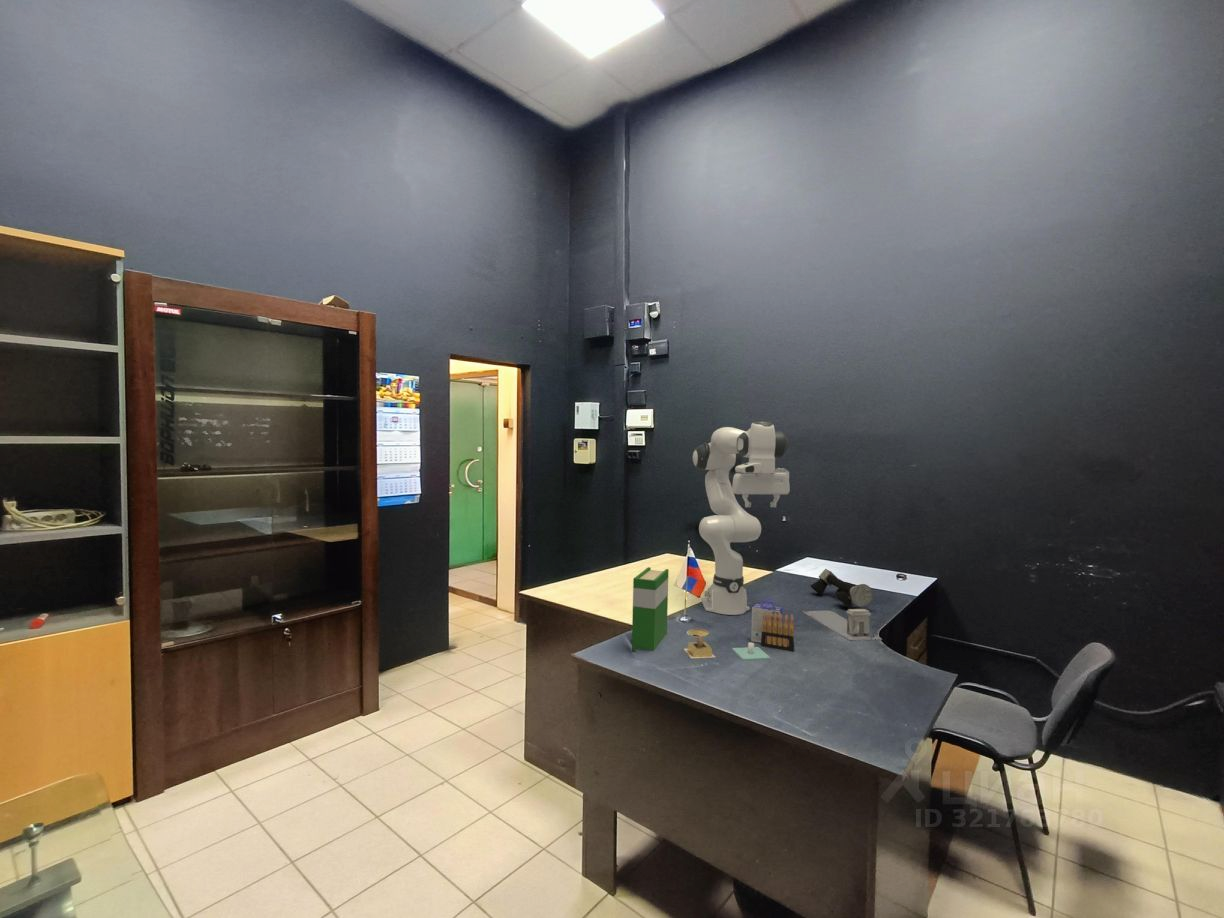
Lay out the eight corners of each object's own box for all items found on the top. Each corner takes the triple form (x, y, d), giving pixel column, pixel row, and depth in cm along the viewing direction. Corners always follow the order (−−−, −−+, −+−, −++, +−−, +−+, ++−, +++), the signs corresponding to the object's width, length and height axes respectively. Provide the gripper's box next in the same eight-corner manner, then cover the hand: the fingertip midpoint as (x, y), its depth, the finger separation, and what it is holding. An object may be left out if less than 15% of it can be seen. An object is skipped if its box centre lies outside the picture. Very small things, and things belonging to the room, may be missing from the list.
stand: (683, 653, 180) (684, 633, 180) (707, 652, 181) (707, 632, 181) (691, 663, 172) (691, 642, 172) (715, 661, 173) (716, 641, 173)
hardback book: (646, 634, 197) (648, 567, 196) (666, 637, 194) (668, 569, 193) (631, 652, 180) (633, 578, 179) (653, 655, 178) (655, 580, 177)
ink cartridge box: (782, 641, 192) (783, 600, 192) (780, 647, 187) (781, 604, 187) (753, 636, 197) (755, 596, 196) (750, 641, 192) (751, 600, 191)
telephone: (866, 626, 229) (827, 602, 258) (886, 602, 229) (845, 582, 259) (841, 602, 227) (805, 582, 256) (861, 579, 227) (823, 561, 257)
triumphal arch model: (850, 642, 194) (851, 615, 194) (802, 613, 227) (802, 589, 227) (882, 641, 197) (883, 614, 196) (830, 612, 229) (830, 589, 229)
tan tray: (687, 649, 179) (687, 642, 179) (705, 648, 180) (705, 641, 180) (693, 656, 173) (693, 649, 173) (711, 656, 174) (711, 648, 174)
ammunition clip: (760, 646, 188) (761, 611, 187) (761, 644, 189) (762, 609, 189) (793, 651, 183) (794, 615, 183) (794, 650, 185) (795, 614, 185)
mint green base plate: (731, 654, 180) (732, 638, 180) (757, 653, 181) (758, 637, 181) (742, 665, 171) (743, 649, 171) (770, 663, 173) (770, 648, 172)
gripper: (785, 467, 199) (783, 506, 199) (731, 467, 195) (729, 506, 196) (793, 468, 193) (792, 508, 193) (738, 467, 189) (737, 508, 190)
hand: (760, 507), depth 194 cm, fingers open, 8 cm apart
